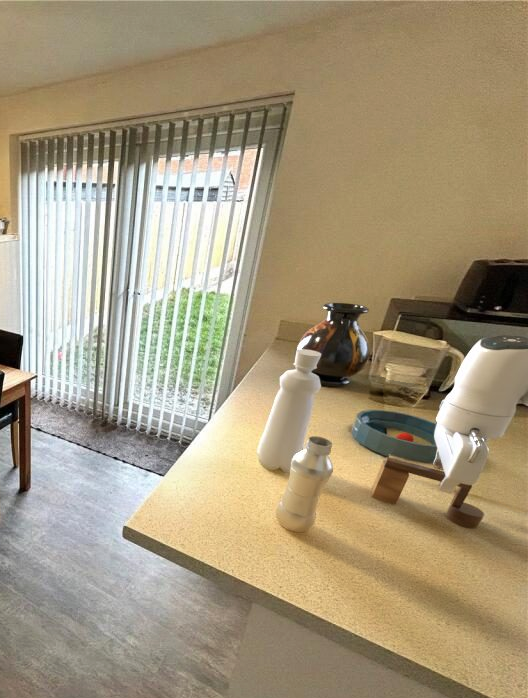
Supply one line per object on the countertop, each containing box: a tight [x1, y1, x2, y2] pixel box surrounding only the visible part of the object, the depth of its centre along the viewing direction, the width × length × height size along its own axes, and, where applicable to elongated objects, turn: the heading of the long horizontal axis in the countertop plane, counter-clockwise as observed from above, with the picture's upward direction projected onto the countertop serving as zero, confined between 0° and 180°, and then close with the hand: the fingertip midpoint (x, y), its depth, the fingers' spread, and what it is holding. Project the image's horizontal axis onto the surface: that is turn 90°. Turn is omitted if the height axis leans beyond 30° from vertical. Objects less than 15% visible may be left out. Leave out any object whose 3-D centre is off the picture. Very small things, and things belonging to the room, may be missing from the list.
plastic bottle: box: [275, 435, 334, 533], centre depth 76 cm, size 6×7×20 cm
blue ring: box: [350, 409, 437, 463], centre depth 105 cm, size 20×20×6 cm
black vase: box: [294, 302, 371, 388], centre depth 142 cm, size 22×22×28 cm
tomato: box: [396, 432, 414, 442], centre depth 105 cm, size 3×3×3 cm
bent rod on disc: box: [384, 456, 485, 529], centre depth 82 cm, size 16×5×9 cm, turn 51°
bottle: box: [256, 349, 322, 474], centre depth 93 cm, size 9×9×30 cm
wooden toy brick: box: [371, 459, 410, 505], centre depth 86 cm, size 4×4×8 cm
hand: (441, 478), depth 80 cm, fingers open, 8 cm apart
